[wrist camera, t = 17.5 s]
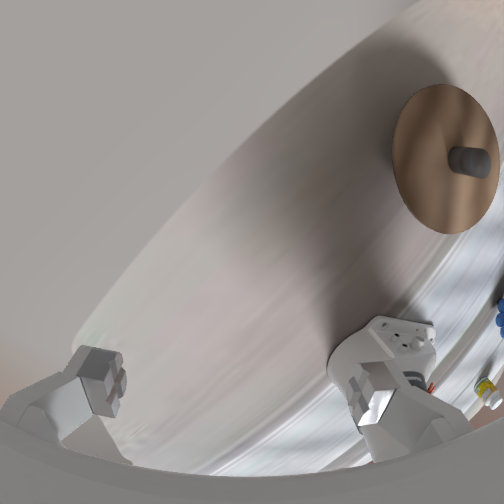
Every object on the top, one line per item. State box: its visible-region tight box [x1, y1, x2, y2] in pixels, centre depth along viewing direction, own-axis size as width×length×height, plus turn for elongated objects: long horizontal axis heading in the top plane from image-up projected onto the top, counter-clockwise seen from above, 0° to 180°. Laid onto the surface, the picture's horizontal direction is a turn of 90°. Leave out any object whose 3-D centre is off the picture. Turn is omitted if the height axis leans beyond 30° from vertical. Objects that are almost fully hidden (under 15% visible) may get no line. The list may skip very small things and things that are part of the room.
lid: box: [392, 84, 500, 234], centre depth 28 cm, size 20×20×6 cm
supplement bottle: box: [474, 377, 502, 410], centre depth 53 cm, size 5×5×10 cm
